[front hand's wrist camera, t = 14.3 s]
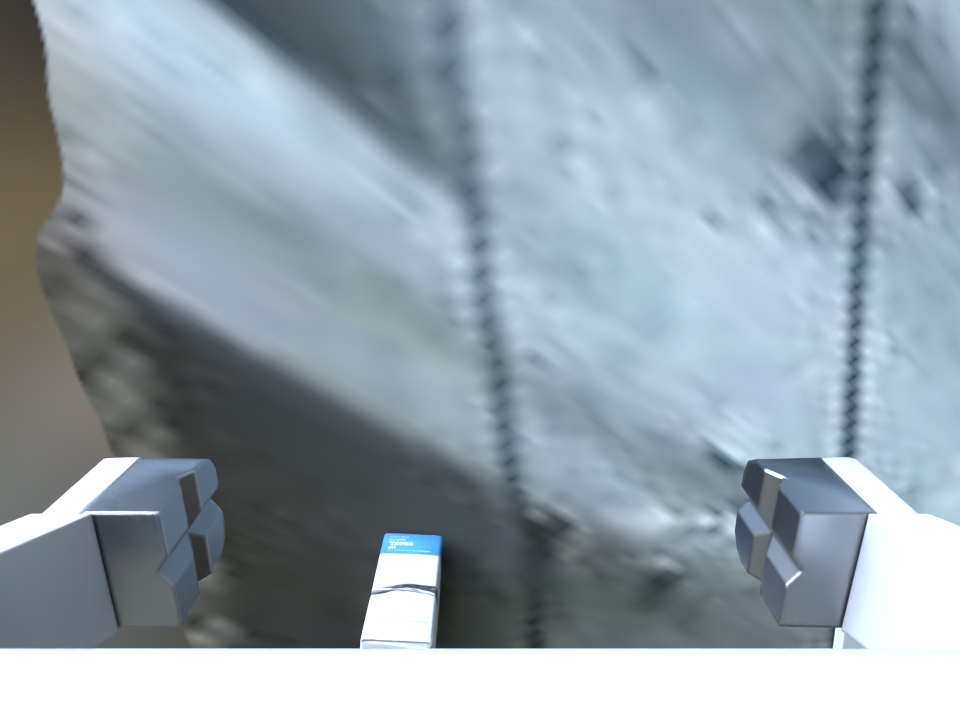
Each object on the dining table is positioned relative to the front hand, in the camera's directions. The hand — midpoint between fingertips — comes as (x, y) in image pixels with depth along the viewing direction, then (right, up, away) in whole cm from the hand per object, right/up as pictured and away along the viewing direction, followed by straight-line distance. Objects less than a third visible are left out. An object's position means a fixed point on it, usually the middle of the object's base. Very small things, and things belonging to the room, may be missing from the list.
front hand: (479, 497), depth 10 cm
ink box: (-6, -16, +45) cm, 48 cm away
